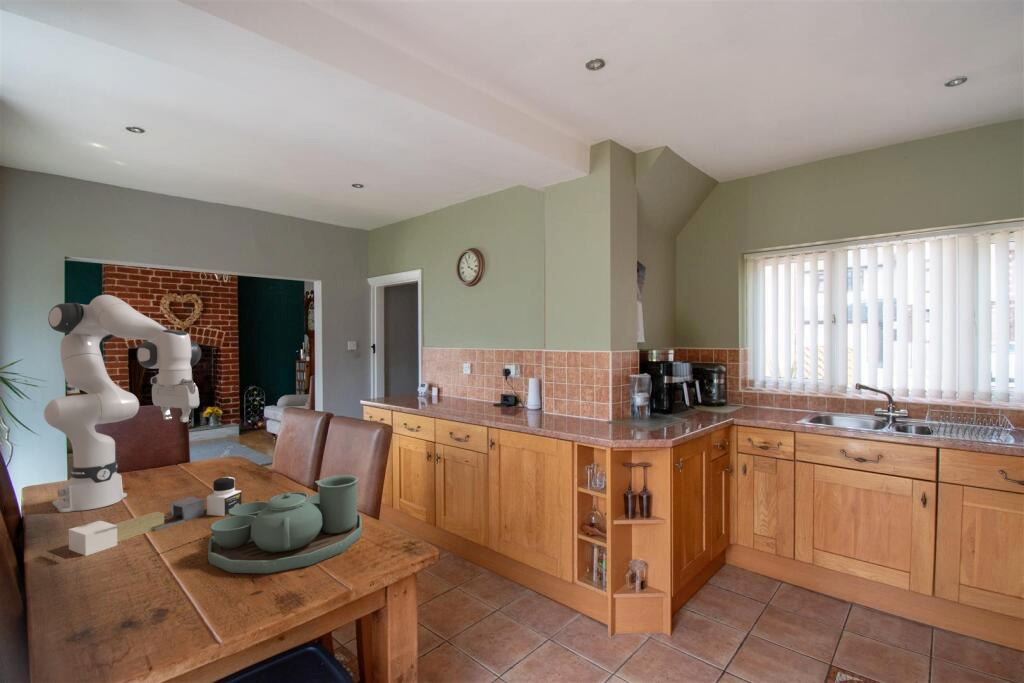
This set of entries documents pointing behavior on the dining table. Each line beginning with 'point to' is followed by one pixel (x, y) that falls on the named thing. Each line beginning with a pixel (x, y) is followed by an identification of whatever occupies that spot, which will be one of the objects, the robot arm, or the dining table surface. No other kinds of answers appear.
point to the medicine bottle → (223, 497)
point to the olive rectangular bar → (139, 525)
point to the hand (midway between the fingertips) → (175, 420)
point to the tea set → (288, 529)
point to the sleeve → (184, 511)
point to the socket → (92, 537)
